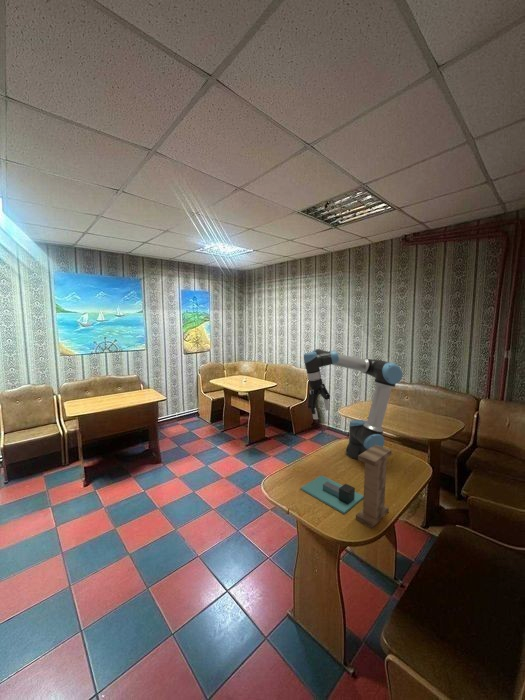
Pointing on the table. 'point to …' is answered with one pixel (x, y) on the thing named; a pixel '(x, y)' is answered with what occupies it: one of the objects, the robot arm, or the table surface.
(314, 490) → the teal mat
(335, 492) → the bar
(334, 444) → the table surface
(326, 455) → the table surface
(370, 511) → the walnut stand
